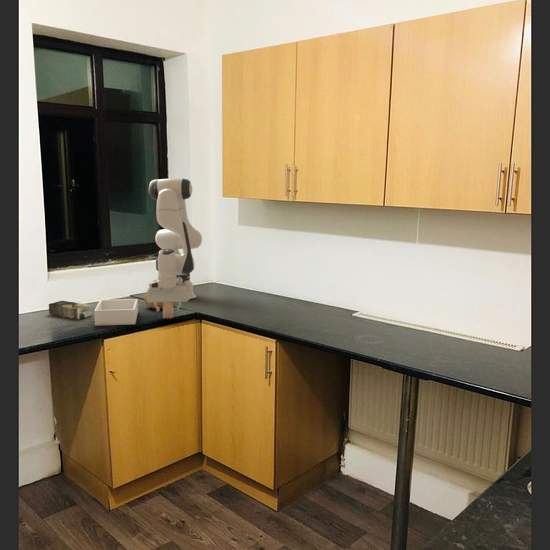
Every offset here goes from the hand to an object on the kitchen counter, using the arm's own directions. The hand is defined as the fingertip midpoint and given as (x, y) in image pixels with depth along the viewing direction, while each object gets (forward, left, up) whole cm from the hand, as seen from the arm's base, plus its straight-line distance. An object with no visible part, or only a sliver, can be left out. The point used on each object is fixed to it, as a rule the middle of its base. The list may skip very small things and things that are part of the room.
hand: (167, 310), depth 269 cm
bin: (0, -24, -3) cm, 24 cm away
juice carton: (-10, -47, -4) cm, 48 cm away
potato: (-19, -6, -4) cm, 20 cm away
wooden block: (0, 0, -3) cm, 3 cm away
